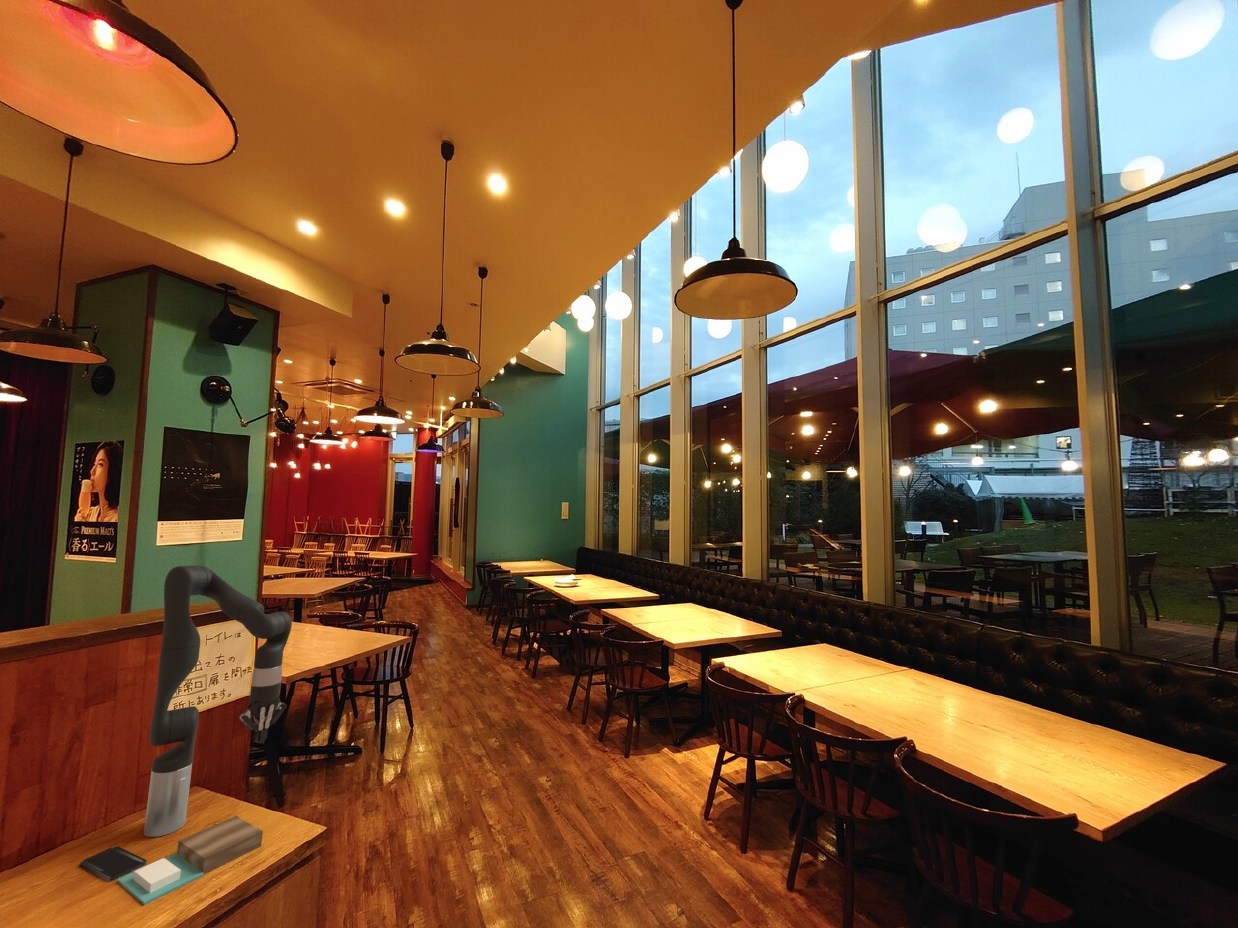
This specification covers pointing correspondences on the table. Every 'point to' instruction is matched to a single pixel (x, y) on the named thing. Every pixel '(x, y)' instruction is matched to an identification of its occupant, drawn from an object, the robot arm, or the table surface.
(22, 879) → the table surface
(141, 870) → the white rectangular block
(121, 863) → the phone
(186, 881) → the mat
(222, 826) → the block
